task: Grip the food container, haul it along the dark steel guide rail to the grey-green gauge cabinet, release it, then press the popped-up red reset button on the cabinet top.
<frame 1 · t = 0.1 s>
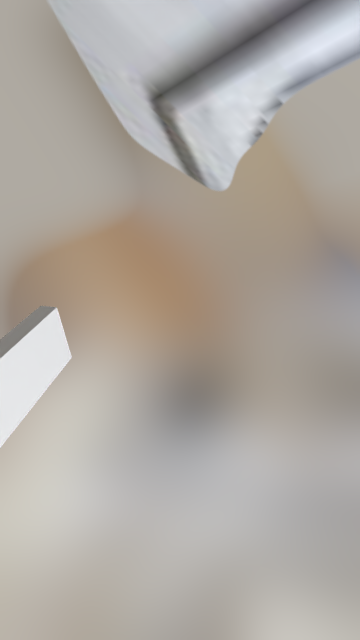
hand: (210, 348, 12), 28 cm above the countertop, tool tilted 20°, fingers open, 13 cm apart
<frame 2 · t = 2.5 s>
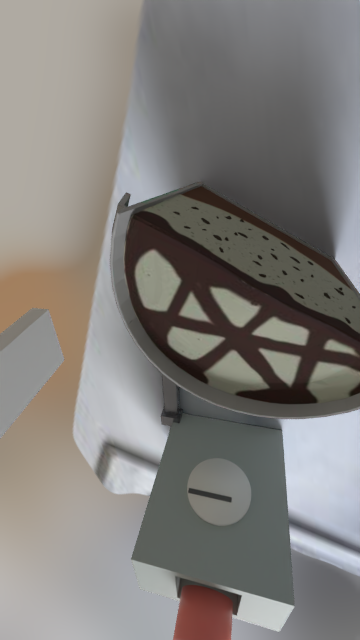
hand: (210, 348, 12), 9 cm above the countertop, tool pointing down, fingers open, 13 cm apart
gauge cabinet: (225, 439, 29), on the countertop
food container: (240, 261, 19), on the countertop, touching gripper
reset button: (204, 621, 18), point 13 cm above the countertop, slide at 0.0 cm
guide rail: (169, 349, 24), on the countertop
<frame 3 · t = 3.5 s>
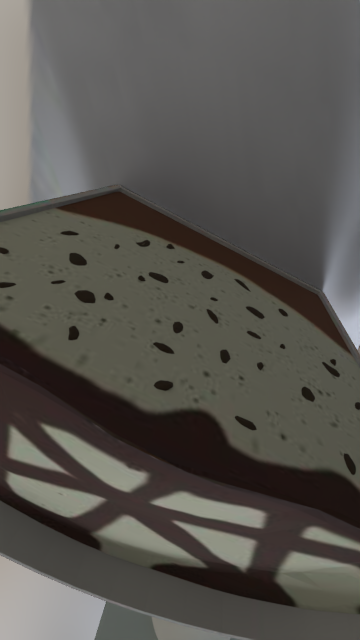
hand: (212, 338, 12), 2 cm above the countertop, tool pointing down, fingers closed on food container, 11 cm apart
gauge cabinet: (206, 507, 24), on the countertop
food container: (191, 295, 14), on the countertop, touching gripper
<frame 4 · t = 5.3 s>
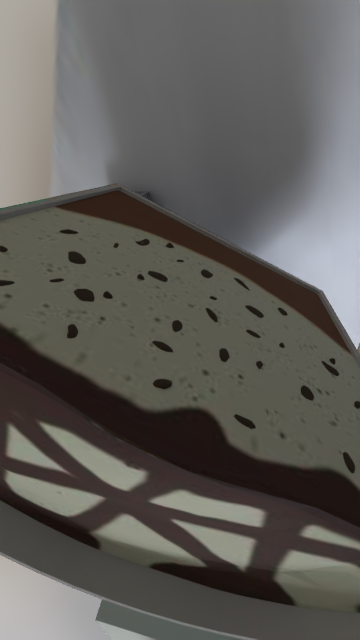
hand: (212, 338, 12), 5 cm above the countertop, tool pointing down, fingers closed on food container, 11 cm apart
gauge cabinet: (226, 443, 24), on the countertop
food container: (191, 295, 14), point 3 cm above the countertop, touching gripper
when the fingers open (3 cm above the countertop, at t = 6.9 s): food container drops 1 cm, on the countertop.
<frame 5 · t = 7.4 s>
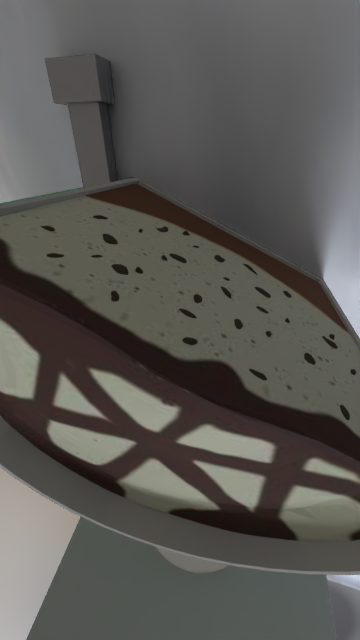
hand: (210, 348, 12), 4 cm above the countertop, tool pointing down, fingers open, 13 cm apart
gauge cabinet: (213, 424, 20), on the countertop
food container: (200, 283, 15), on the countertop
guide rail: (119, 277, 15), on the countertop
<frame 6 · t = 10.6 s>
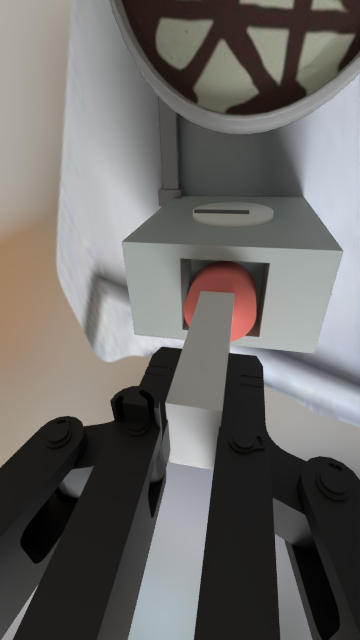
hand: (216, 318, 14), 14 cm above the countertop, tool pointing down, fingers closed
gauge cabinet: (234, 231, 25), on the countertop
food container: (230, 72, 19), on the countertop
reset button: (221, 301, 15), point 12 cm above the countertop, slide at 1.0 cm, touching gripper
guide rail: (168, 73, 20), on the countertop
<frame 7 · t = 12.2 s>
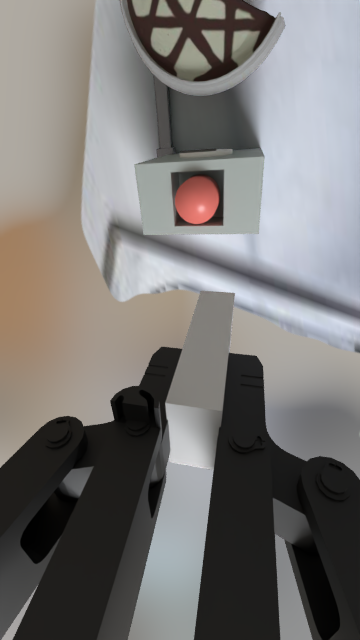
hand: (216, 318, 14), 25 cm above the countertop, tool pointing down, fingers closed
gauge cabinet: (213, 179, 34), on the countertop
food container: (203, 61, 28), on the countertop
reset button: (198, 199, 24), point 12 cm above the countertop, slide at 1.5 cm
guide rail: (160, 64, 29), on the countertop
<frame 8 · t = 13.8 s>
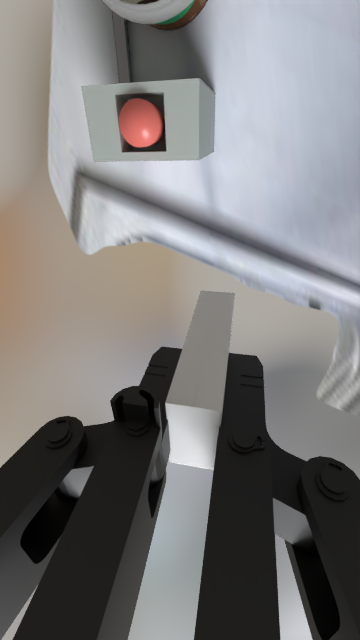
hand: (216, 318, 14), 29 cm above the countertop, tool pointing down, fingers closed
gauge cabinet: (172, 125, 35), on the countertop
food container: (159, 2, 30), on the countertop
reset button: (142, 124, 25), point 12 cm above the countertop, slide at 1.5 cm
guide rail: (119, 4, 30), on the countertop
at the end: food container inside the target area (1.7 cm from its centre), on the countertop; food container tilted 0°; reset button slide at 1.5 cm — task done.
